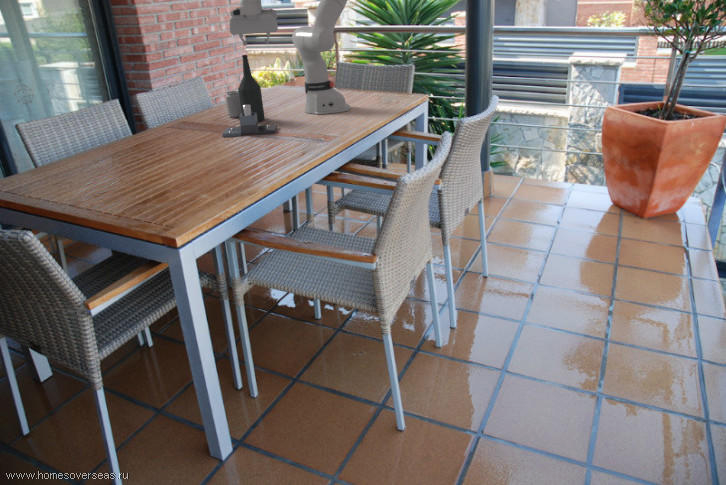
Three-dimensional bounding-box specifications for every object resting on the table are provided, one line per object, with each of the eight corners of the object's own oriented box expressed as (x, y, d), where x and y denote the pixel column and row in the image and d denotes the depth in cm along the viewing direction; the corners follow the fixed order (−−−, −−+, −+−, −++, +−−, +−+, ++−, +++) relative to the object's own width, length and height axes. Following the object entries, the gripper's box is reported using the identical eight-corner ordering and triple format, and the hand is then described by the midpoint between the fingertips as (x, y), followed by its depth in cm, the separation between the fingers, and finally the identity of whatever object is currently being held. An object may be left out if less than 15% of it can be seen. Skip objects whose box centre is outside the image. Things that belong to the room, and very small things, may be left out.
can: (245, 114, 284) (242, 89, 279) (241, 118, 277) (237, 93, 272) (231, 114, 285) (227, 90, 280) (226, 118, 278) (222, 93, 273)
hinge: (277, 127, 255) (274, 109, 252) (275, 133, 246) (272, 115, 243) (226, 131, 255) (223, 113, 251) (222, 137, 246) (219, 118, 242)
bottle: (259, 123, 265) (250, 56, 252) (240, 123, 267) (229, 56, 254) (267, 118, 274) (258, 52, 261) (248, 118, 276) (238, 53, 263)
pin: (254, 131, 252) (250, 103, 247) (253, 133, 249) (249, 105, 244) (247, 131, 252) (243, 104, 247) (246, 133, 249) (242, 105, 244)
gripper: (276, 8, 244) (280, 42, 249) (228, 11, 243) (233, 45, 249) (275, 8, 238) (279, 43, 244) (226, 12, 237) (231, 46, 243)
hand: (256, 44), depth 246 cm, fingers open, 8 cm apart
